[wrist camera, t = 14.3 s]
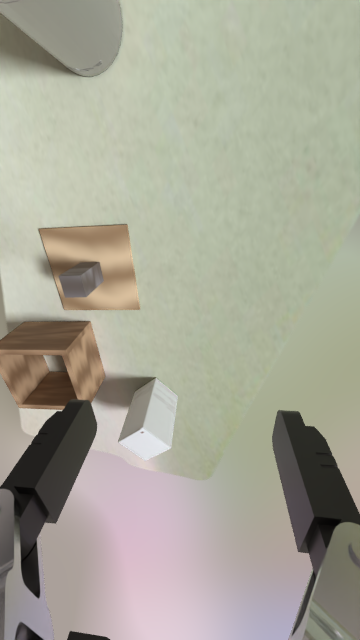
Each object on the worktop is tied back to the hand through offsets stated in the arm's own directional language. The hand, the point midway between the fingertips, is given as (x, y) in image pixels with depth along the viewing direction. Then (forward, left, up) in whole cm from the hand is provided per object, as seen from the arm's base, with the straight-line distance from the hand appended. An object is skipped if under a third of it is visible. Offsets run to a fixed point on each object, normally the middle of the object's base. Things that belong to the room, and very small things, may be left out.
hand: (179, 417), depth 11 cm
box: (+20, -29, -32) cm, 48 cm away
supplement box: (+32, -11, -33) cm, 47 cm away
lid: (+3, -19, -33) cm, 38 cm away
